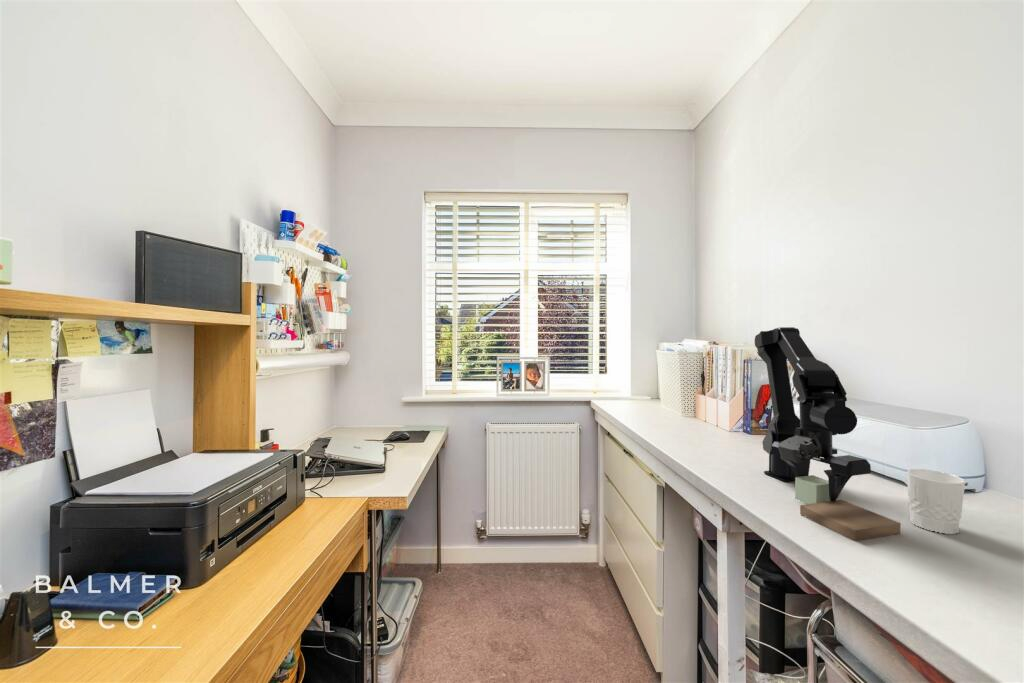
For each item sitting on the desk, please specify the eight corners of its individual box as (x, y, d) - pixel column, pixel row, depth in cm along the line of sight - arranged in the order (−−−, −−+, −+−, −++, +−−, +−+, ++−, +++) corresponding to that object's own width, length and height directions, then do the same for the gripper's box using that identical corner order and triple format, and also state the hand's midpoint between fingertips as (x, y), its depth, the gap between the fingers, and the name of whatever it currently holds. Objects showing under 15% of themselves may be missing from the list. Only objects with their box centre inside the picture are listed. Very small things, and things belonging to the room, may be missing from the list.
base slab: (800, 514, 87) (800, 505, 87) (841, 508, 90) (841, 499, 90) (854, 541, 76) (855, 530, 76) (900, 533, 79) (900, 523, 79)
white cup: (945, 539, 77) (946, 485, 76) (895, 519, 84) (897, 471, 84) (973, 533, 79) (975, 480, 79) (923, 514, 86) (924, 467, 86)
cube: (795, 499, 95) (795, 477, 95) (812, 496, 96) (812, 475, 96) (816, 508, 90) (816, 485, 90) (834, 505, 91) (834, 483, 91)
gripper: (751, 419, 99) (753, 485, 99) (828, 436, 81) (830, 516, 81) (789, 416, 102) (791, 480, 102) (871, 432, 84) (873, 509, 84)
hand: (817, 495), depth 92 cm, fingers open, 6 cm apart
